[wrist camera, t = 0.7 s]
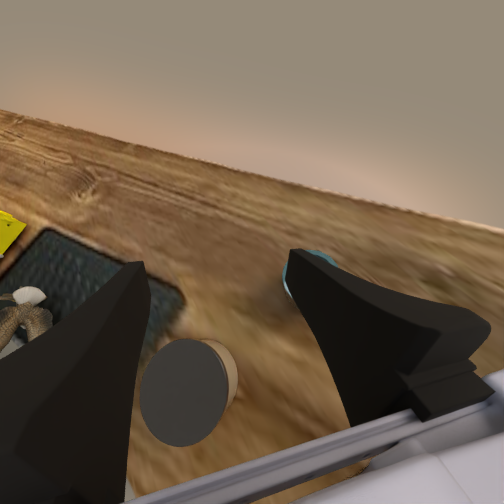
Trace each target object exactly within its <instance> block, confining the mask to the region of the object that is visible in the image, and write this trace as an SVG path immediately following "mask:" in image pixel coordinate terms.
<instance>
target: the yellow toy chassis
mask: <svg viewBox="0 0 504 504" xmlns="http://www.w3.org/2000/svg"><path fill="white" fill-rule="evenodd" d="M11 217H12V215H11V214H9V213H6V212H4V211H1V210H0V258H3V257H4V255H2V254H3V253H4V252H5V251H6V249H7V248H8V247H9V246H10V245H11V243H12V242H13V241H15V240H16V238H17V237H18V235H19V234H20V232H21V231H22V230H23V229H24V228H25V226H26V225H27V224H25V223H23V222H20V221H18V220H17V219H15V218H13V217H12V218H11Z"/></svg>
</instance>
